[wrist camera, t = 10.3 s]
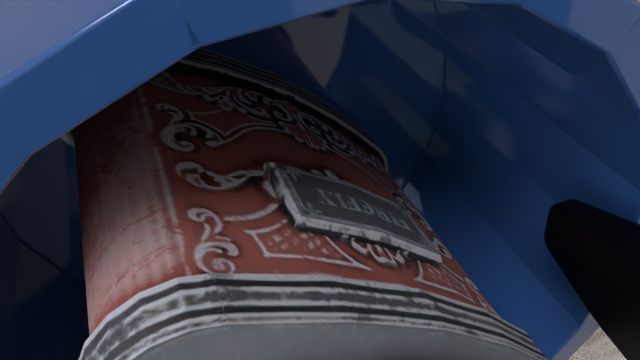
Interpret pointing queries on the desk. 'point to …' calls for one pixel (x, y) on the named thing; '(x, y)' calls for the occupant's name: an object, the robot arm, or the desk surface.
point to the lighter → (261, 232)
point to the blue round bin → (358, 105)
